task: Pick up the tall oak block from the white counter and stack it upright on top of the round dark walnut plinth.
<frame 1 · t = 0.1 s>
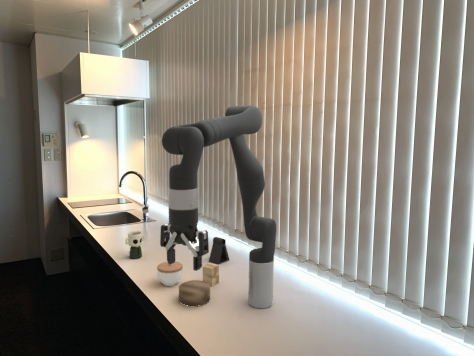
hand: (183, 266, 92), 29 cm above the worktop, fingers open, 8 cm apart
lidded jar: (170, 283, 150), on the worktop
character mug: (135, 257, 181), on the worktop
phone stand: (219, 261, 177), on the worktop
walnut plinth: (194, 299, 136), on the worktop
oak block: (210, 283, 150), on the worktop
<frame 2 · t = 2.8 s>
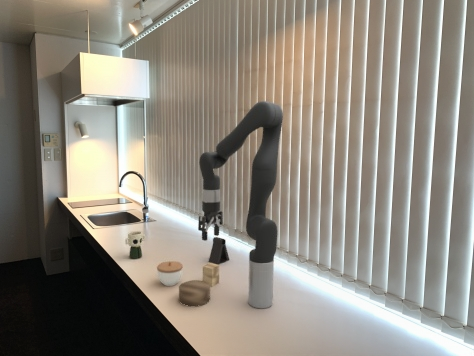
hand: (210, 237, 148), 20 cm above the worktop, fingers open, 8 cm apart
nothing on the worktop moved.
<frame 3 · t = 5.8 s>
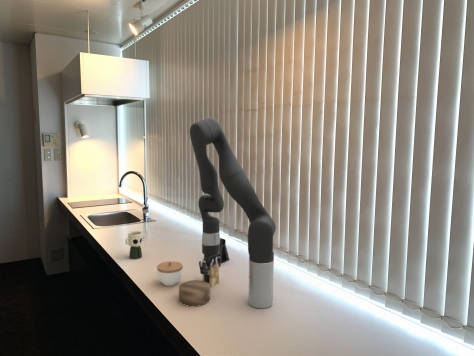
hand: (210, 280, 150), 1 cm above the worktop, fingers closed on oak block, 5 cm apart
oak block: (210, 283, 150), on the worktop, touching gripper
everything else where it was.
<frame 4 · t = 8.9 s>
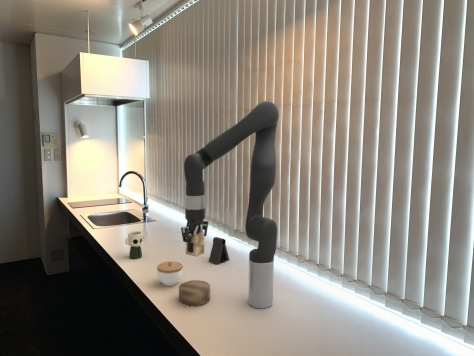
hand: (195, 250, 134), 19 cm above the worktop, fingers closed on oak block, 5 cm apart
oak block: (195, 253, 134), point 18 cm above the worktop, touching gripper
everything else where it was.
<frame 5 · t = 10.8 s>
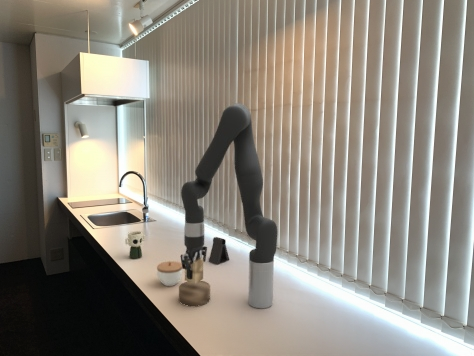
hand: (194, 276, 134), 9 cm above the worktop, fingers closed on oak block, 5 cm apart
oak block: (194, 279, 135), point 8 cm above the worktop, touching gripper
everything else where it was.
when the fingers open (8 cm above the worktop, at t = 12.0 s): oak block drops 1 cm, resting on walnut plinth.
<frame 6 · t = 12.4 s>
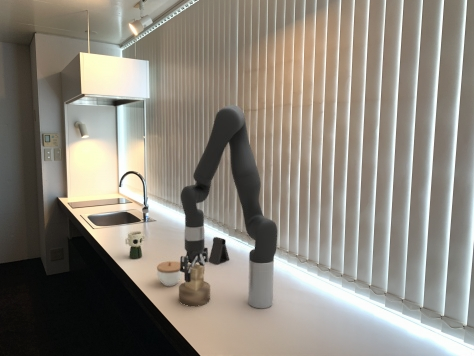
hand: (194, 277, 135), 9 cm above the worktop, fingers open, 8 cm apart
oak block: (194, 286, 135), point 5 cm above the worktop, touching walnut plinth
everything else where it was.
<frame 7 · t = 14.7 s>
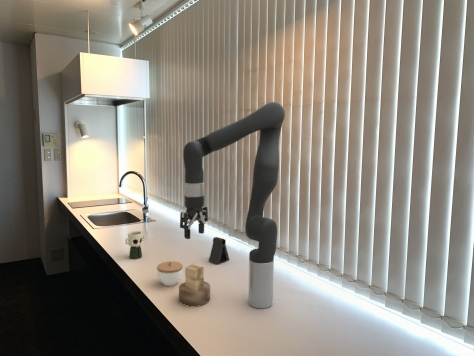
hand: (194, 235, 135), 25 cm above the worktop, fingers open, 8 cm apart
nothing on the worktop moved.
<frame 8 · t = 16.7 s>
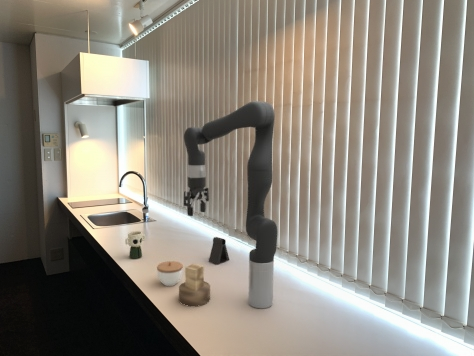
hand: (196, 213, 148), 30 cm above the worktop, fingers open, 8 cm apart
nothing on the worktop moved.
at the end: oak block 0.1 cm off-centre on the walnut plinth, point 5.0 cm above the walnut plinth's base; oak block tilted 0°; the gripper is holding nothing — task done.
